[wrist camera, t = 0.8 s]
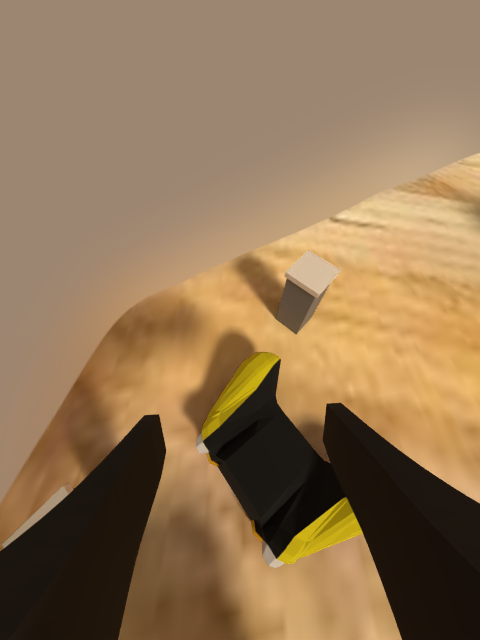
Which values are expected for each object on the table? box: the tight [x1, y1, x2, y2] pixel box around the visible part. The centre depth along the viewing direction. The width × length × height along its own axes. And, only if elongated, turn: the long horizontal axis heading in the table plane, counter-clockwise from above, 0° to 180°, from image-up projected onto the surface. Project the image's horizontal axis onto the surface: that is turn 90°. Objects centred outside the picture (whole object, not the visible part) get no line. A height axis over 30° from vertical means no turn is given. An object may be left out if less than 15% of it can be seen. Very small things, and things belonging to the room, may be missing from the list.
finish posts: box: [2, 250, 341, 548], centre depth 20 cm, size 3×27×9 cm, turn 137°
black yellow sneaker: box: [196, 352, 363, 568], centre depth 19 cm, size 15×6×10 cm
